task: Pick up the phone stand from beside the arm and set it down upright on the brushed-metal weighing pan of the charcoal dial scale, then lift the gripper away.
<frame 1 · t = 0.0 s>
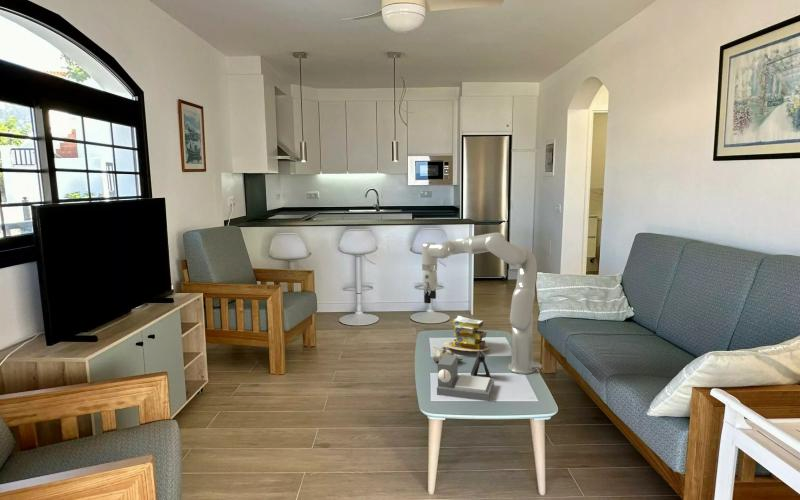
hand: (430, 300, 237), 31 cm above the table, fingers open, 9 cm apart
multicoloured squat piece: (466, 349, 256), on the table
dial scale: (466, 389, 205), on the table
phone stand: (480, 378, 218), on the table
ceramic sculpture: (445, 363, 237), on the table
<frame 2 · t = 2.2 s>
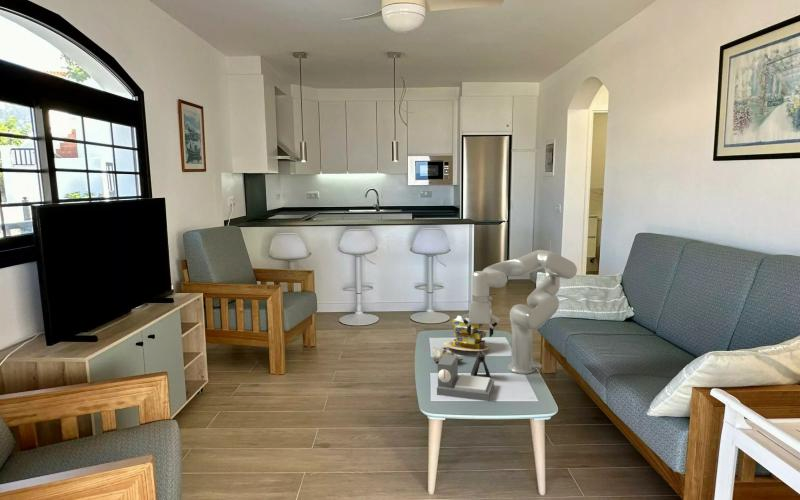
hand: (480, 335, 215), 20 cm above the table, fingers open, 9 cm apart
nothing on the table moved.
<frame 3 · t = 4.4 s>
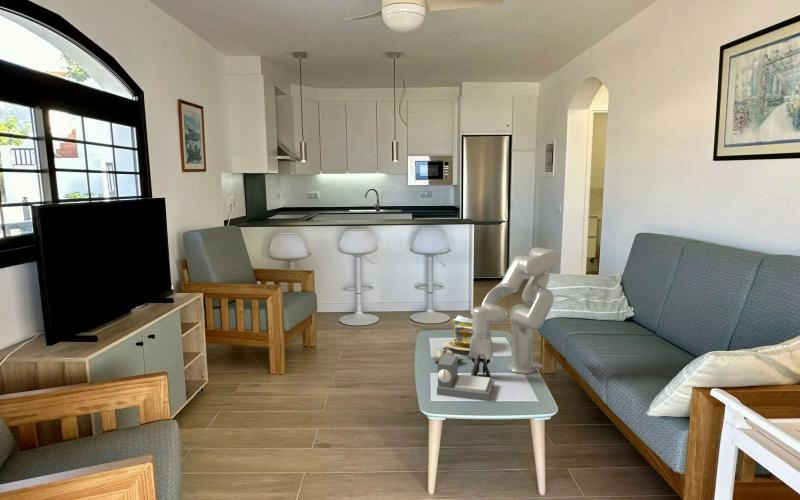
hand: (481, 372, 218), 3 cm above the table, fingers closed on phone stand, 2 cm apart
phone stand: (481, 377, 218), on the table, touching gripper
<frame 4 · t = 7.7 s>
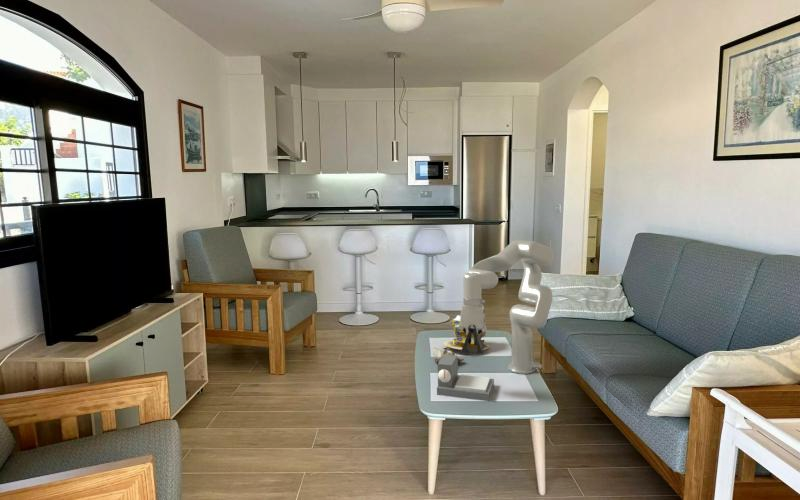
hand: (472, 343, 202), 21 cm above the table, fingers closed on phone stand
phone stand: (472, 351, 202), point 18 cm above the table, touching gripper
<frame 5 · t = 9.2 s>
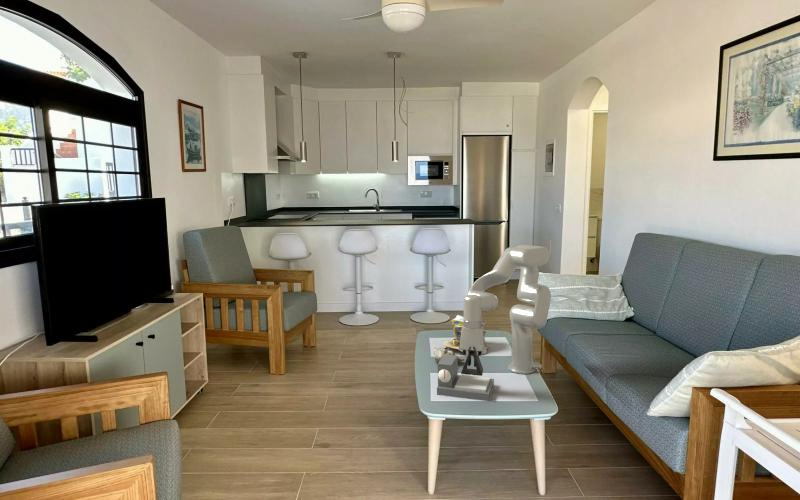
hand: (472, 365, 203), 12 cm above the table, fingers closed on phone stand
phone stand: (472, 372, 203), point 8 cm above the table, touching gripper
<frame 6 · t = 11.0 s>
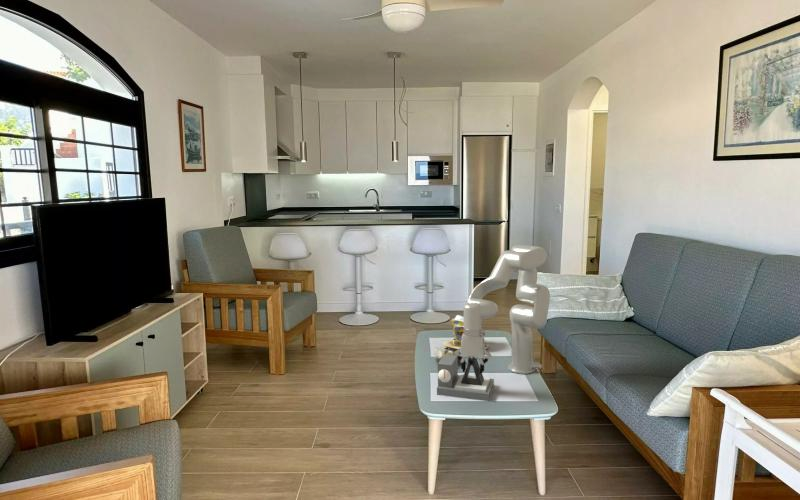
hand: (472, 371, 203), 9 cm above the table, fingers open, 7 cm apart
phone stand: (472, 382, 204), point 4 cm above the table, touching dial scale
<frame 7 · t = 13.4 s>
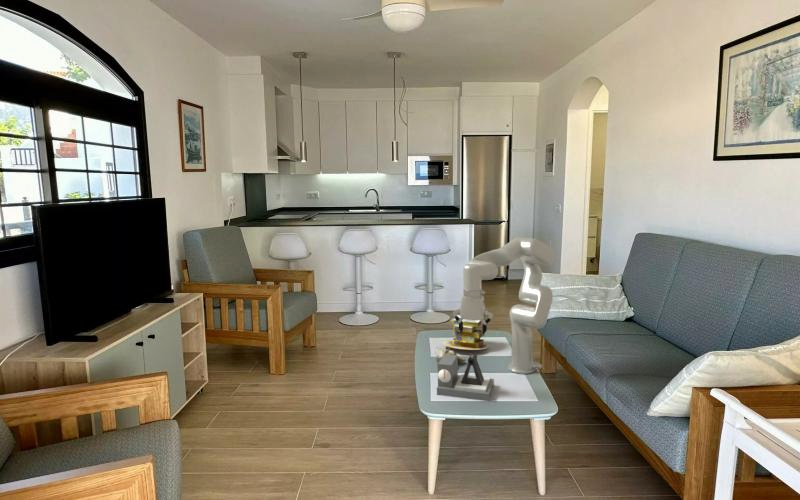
hand: (472, 332, 201), 26 cm above the table, fingers open, 9 cm apart
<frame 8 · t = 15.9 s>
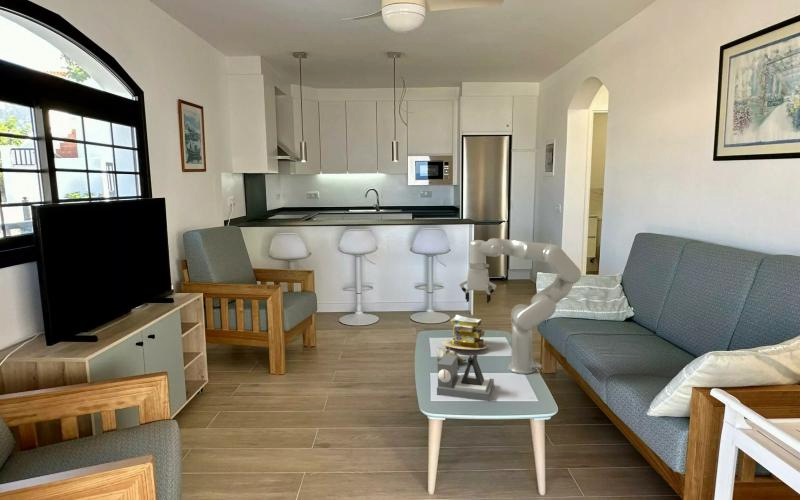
hand: (478, 301, 224), 33 cm above the table, fingers open, 9 cm apart
at the end: phone stand inside the target area on the dial scale (0.1 cm from its centre), point 3.8 cm above the dial scale's base; phone stand tilted 0°; the gripper is holding nothing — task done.
